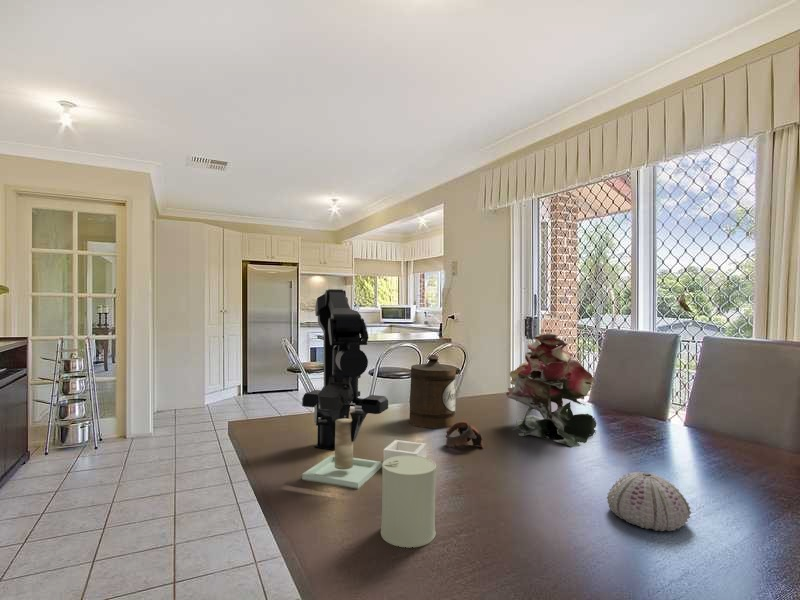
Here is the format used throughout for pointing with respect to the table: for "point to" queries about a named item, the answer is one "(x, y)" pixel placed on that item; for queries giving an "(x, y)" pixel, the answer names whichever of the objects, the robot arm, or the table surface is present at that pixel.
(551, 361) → the rose bouquet
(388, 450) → the white square tube
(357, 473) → the tray
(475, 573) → the table surface
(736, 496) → the table surface
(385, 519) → the can
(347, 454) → the dowel
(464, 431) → the brown rounded hollow piece
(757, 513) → the table surface
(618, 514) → the sea urchin shell
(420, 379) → the wooden container
